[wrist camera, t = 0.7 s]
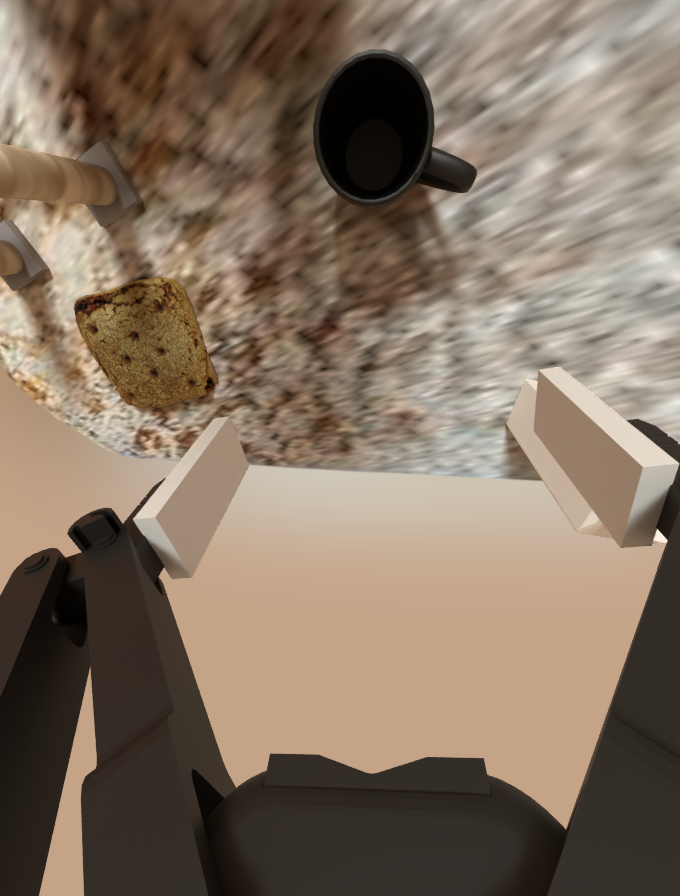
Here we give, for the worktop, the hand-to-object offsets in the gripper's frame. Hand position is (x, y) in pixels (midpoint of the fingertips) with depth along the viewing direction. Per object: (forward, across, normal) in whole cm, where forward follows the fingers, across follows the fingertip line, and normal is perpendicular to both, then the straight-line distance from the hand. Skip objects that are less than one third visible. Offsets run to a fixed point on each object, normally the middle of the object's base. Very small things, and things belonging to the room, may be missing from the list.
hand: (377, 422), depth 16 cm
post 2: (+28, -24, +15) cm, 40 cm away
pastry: (+28, -27, 0) cm, 39 cm away
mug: (+28, +3, +11) cm, 30 cm away
